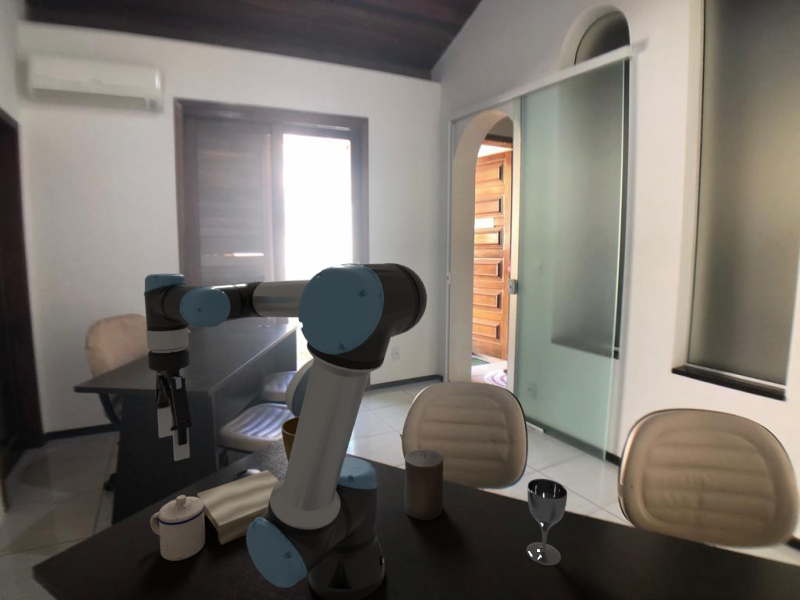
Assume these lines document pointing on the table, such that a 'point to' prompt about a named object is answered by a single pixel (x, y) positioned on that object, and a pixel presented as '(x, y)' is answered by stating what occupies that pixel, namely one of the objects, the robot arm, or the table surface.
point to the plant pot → (289, 434)
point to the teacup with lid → (180, 527)
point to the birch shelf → (238, 504)
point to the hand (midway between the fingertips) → (173, 446)
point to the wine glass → (545, 516)
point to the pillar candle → (423, 484)
